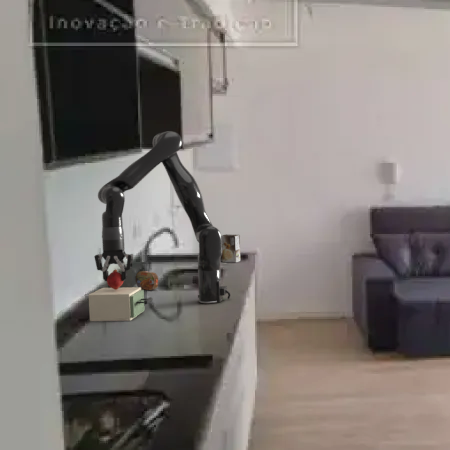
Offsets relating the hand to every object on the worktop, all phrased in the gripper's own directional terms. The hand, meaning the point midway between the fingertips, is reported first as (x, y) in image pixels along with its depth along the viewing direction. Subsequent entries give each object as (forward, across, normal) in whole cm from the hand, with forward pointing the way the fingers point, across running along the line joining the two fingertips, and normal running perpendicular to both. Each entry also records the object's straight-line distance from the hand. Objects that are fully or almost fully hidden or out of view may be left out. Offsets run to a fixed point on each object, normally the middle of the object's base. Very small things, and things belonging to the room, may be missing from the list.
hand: (115, 280), depth 243 cm
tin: (+15, +6, -52) cm, 55 cm away
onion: (+4, 0, 0) cm, 4 cm away
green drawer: (+13, -4, 0) cm, 14 cm away
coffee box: (+15, -17, -130) cm, 132 cm away
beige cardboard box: (+14, 0, 0) cm, 14 cm away
